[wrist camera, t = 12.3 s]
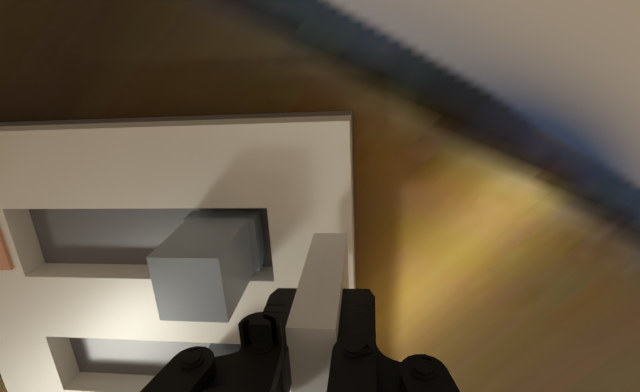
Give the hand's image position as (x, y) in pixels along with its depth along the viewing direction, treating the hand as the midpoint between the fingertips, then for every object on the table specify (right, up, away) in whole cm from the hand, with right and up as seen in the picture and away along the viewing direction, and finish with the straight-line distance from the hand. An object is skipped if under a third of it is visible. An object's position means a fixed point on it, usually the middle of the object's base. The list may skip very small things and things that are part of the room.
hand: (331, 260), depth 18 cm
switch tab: (-5, +1, +3) cm, 6 cm away
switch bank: (-9, -6, +8) cm, 14 cm away
